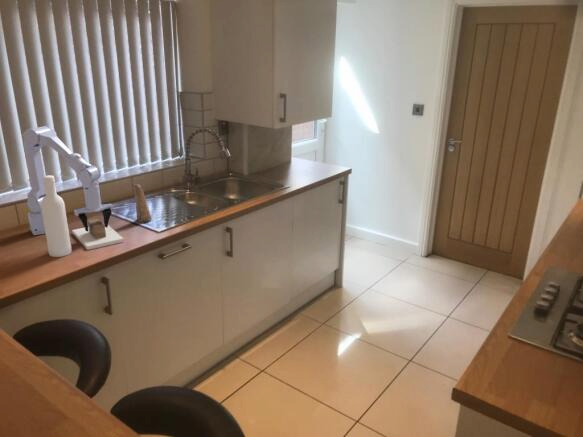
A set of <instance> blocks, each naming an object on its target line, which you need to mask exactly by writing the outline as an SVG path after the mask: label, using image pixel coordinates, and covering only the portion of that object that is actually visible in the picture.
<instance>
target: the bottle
mask: <svg viewBox="0 0 583 437" xmlns="http://www.w3.org/2000/svg"><path fill="white" fill-rule="evenodd" d="M43 183H44V188H45V194H46V196H45V197H44V198H43V199H42V202H41V209H42V215H43V221H44V227H45V233H44V234H45V238H46V243H47V251H48V252H47V253H48V254H49V256H50V257H53V258H62V257H65V256H68V255H70V254H71V253H72V251H73V250H72V243H71V238H70V232H69V231H70V230H69V226H68V225H69V224H68V218H67V211H66V204H65V201H64V199H63V198H62V197H61V196H60V195H59V194H57V187H56V179H55V176H54V175H45V176H44V177H43Z"/></svg>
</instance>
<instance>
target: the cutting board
mask: <svg viewBox="0 0 583 437" xmlns="http://www.w3.org/2000/svg"><path fill="white" fill-rule="evenodd" d="M105 231H106V237H103V238H98V239H95V237H94V236H93V235H92V234H91V233H90V232H89V226H88V231H86V230H85V227H82V228H81V227H80V228H76V229H72V231H71V232H72V234H73V235H74V236H75V238H76V239H77V240H78V241H79V242H80V243H81V244H82V246H83V247H84V248H85V249H86V250H87V251H89V250H94V249H99V248H102V247H103V248H104V247H106V246H112V245H116V244H120V243H124V242H125V241H124V240H125V239H124V237H122V236H121V235H120V234H119V233H118V232H117V231H116V230H115V229H113V228H112V227H111V226H110V225H109V224H108V227H107V228H106V227H105Z"/></svg>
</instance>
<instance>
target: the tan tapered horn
mask: <svg viewBox="0 0 583 437" xmlns="http://www.w3.org/2000/svg"><path fill="white" fill-rule="evenodd" d="M133 192H134V201H135V212H136V220H137V222H138V223H148V222H151V221H152V214H151V213H150V210H149V207H148V204H147V200H146V198H145V193H144V190H143V188H142V186H141V184H140V183H135V184H134V189H133Z"/></svg>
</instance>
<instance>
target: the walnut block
mask: <svg viewBox="0 0 583 437" xmlns="http://www.w3.org/2000/svg"><path fill="white" fill-rule="evenodd" d="M87 225H88V227H89V232H90V233H91V234H92V235H93V236H94V237H95V239H98V238H103V237H106V231H105V225H104V222H102V221H101V220H100V219H98V218H96V219H90V220H87Z"/></svg>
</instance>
